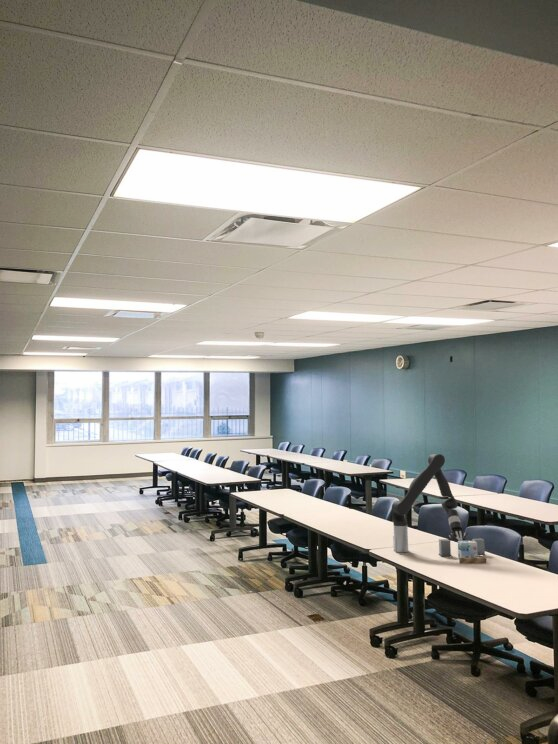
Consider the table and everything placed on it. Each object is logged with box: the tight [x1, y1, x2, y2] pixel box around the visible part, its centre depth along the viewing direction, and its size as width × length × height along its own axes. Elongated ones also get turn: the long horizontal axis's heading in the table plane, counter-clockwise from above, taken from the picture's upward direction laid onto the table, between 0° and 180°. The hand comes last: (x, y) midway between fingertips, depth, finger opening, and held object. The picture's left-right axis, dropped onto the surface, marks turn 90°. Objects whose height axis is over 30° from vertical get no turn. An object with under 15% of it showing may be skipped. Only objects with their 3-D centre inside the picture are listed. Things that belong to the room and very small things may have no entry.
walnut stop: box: [458, 556, 488, 565], centre depth 371 cm, size 16×2×3 cm, turn 91°
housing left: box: [438, 538, 452, 558], centre depth 392 cm, size 7×6×10 cm
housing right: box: [471, 537, 486, 555], centre depth 393 cm, size 7×6×10 cm
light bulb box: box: [457, 540, 479, 559], centre depth 383 cm, size 11×7×11 cm, turn 92°
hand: (461, 546), depth 393 cm, fingers closed
